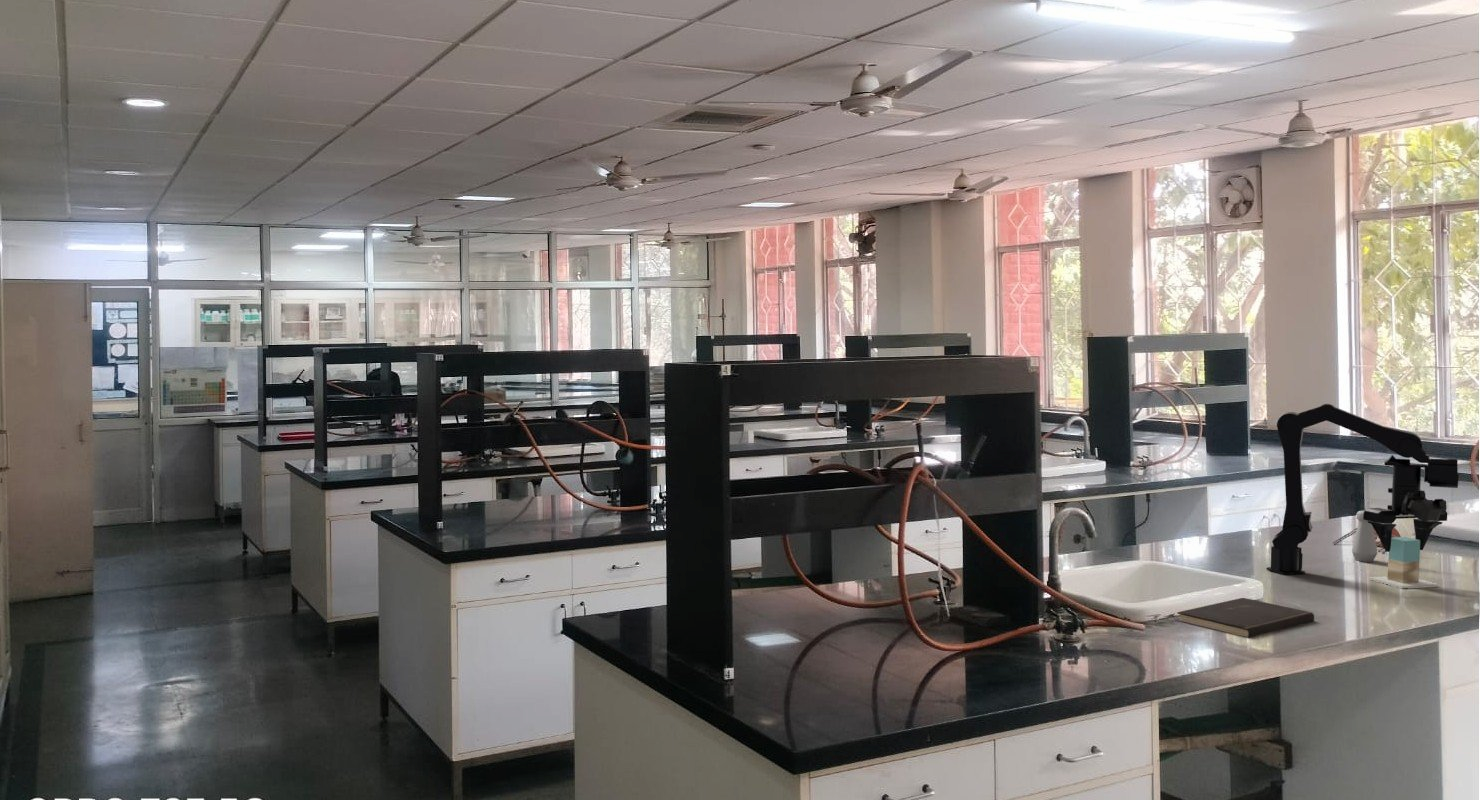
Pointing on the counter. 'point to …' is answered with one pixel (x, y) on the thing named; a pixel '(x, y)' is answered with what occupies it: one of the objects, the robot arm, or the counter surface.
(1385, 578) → the plate
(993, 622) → the counter surface
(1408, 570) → the brick
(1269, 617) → the hardcover book
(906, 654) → the counter surface
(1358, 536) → the salt shaker
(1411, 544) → the brick
